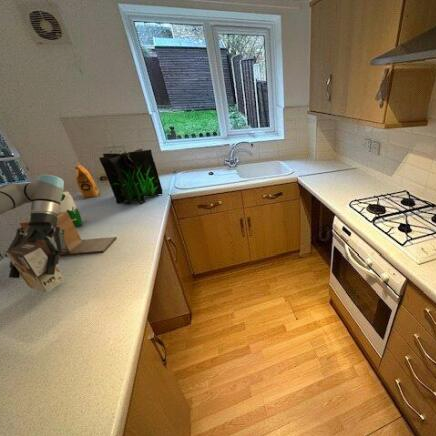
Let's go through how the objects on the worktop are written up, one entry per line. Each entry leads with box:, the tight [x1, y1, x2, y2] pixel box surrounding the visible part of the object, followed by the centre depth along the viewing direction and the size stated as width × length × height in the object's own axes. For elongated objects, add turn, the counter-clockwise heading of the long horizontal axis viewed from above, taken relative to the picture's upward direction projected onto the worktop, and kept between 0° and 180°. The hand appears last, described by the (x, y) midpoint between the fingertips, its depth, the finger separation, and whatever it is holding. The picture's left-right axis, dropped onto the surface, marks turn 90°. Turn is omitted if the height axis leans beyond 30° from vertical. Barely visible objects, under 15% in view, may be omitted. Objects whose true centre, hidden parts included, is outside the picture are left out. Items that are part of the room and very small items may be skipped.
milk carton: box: [59, 191, 83, 228], centre depth 128 cm, size 9×9×20 cm
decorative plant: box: [98, 148, 164, 206], centre depth 162 cm, size 29×30×30 cm
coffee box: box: [4, 242, 66, 293], centre depth 84 cm, size 9×6×16 cm
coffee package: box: [74, 163, 100, 199], centre depth 167 cm, size 10×12×22 cm
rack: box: [16, 212, 117, 257], centre depth 108 cm, size 28×12×17 cm, turn 99°
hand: (32, 276), depth 82 cm, fingers closed on coffee box, 10 cm apart
